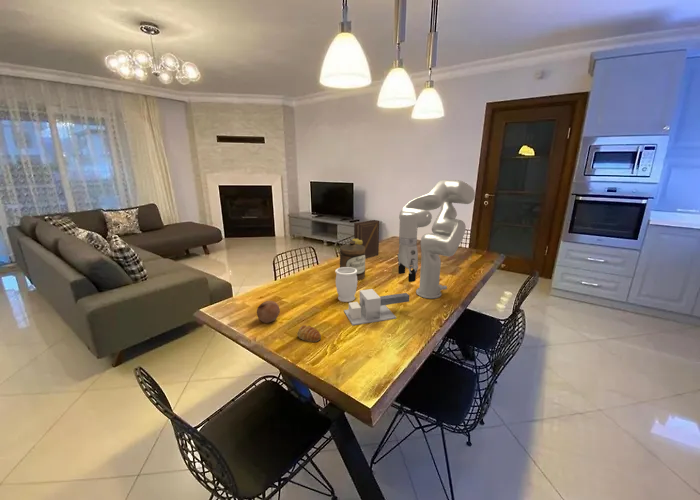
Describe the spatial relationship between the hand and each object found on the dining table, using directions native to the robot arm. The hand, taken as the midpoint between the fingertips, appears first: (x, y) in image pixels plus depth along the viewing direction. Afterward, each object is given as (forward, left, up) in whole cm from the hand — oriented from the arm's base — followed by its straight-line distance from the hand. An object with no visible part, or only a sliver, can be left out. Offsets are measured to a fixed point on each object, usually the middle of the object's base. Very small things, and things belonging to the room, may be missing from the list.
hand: (406, 277), depth 137 cm
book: (-10, -81, -16) cm, 83 cm away
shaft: (+9, 0, -11) cm, 14 cm away
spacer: (+22, 0, -13) cm, 26 cm away
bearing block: (+18, 0, -16) cm, 24 cm away
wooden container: (+11, -47, -16) cm, 50 cm away
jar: (+23, -19, -16) cm, 33 cm away
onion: (+61, -8, -16) cm, 63 cm away
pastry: (+46, +10, -16) cm, 50 cm away
